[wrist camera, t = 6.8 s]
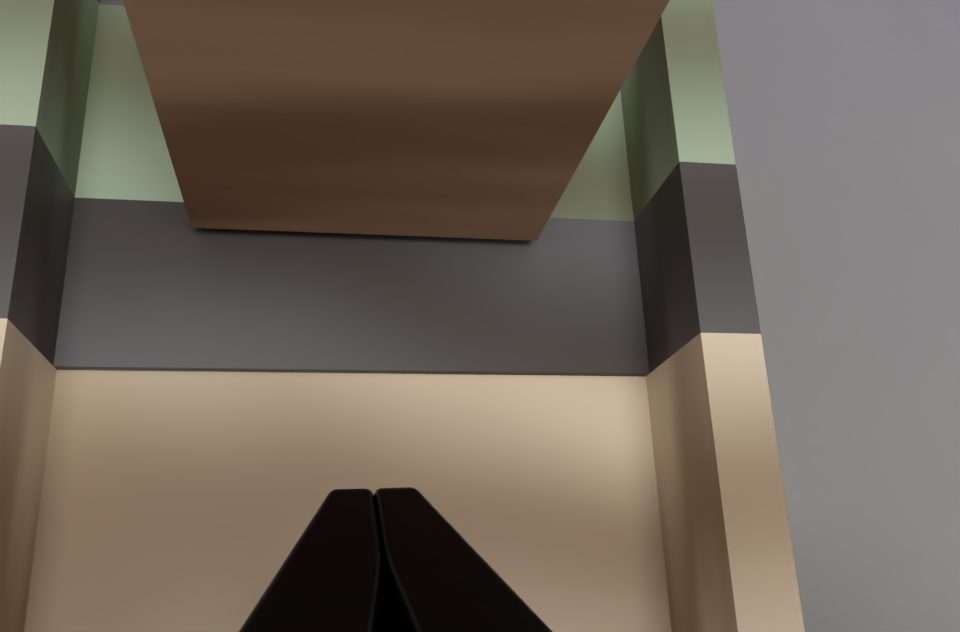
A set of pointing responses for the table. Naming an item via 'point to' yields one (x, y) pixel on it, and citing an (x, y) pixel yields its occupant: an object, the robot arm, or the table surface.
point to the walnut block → (384, 108)
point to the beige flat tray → (377, 366)
